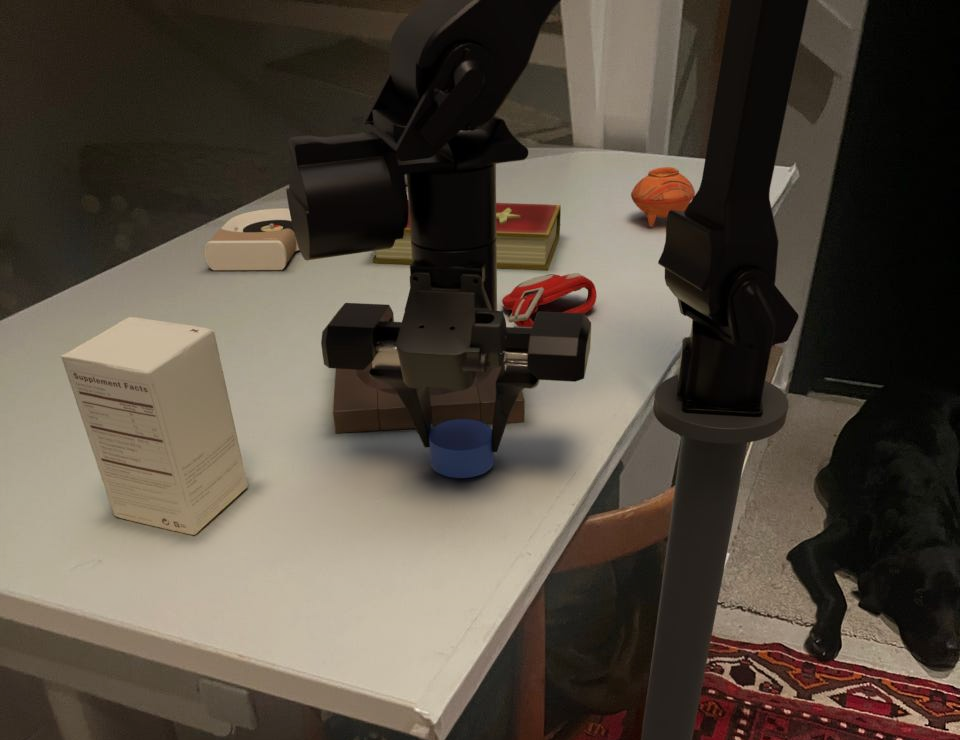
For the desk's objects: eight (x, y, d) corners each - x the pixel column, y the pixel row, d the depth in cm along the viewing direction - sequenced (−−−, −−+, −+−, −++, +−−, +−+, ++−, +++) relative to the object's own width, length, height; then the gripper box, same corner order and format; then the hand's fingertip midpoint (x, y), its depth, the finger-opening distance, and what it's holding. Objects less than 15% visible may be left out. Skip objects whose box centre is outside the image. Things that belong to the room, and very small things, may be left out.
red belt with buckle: (490, 287, 100) (579, 257, 99) (502, 327, 102) (589, 299, 101) (504, 301, 89) (604, 267, 89) (517, 346, 91) (614, 314, 91)
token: (498, 448, 74) (498, 421, 72) (488, 480, 70) (488, 452, 69) (437, 444, 75) (436, 417, 73) (424, 475, 71) (422, 447, 69)
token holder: (503, 346, 91) (503, 326, 89) (524, 421, 79) (524, 400, 77) (340, 355, 90) (337, 335, 88) (335, 433, 78) (332, 411, 76)
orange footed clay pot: (684, 231, 115) (678, 173, 111) (626, 238, 119) (618, 182, 115) (706, 212, 120) (700, 155, 116) (650, 219, 124) (642, 165, 120)
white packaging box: (172, 470, 73) (129, 313, 65) (251, 488, 71) (217, 326, 63) (110, 518, 68) (56, 353, 60) (193, 538, 66) (149, 370, 58)
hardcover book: (397, 231, 119) (394, 196, 116) (559, 237, 116) (561, 201, 113) (372, 262, 110) (369, 225, 107) (547, 270, 107) (548, 231, 104)
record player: (193, 242, 107) (236, 196, 122) (198, 270, 109) (240, 221, 124) (292, 242, 106) (323, 195, 122) (296, 269, 108) (326, 220, 124)
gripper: (279, 274, 57) (314, 493, 67) (583, 286, 54) (571, 512, 64) (332, 219, 65) (356, 421, 75) (597, 227, 63) (585, 436, 73)
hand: (461, 447), depth 72 cm, fingers closed on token, 5 cm apart
